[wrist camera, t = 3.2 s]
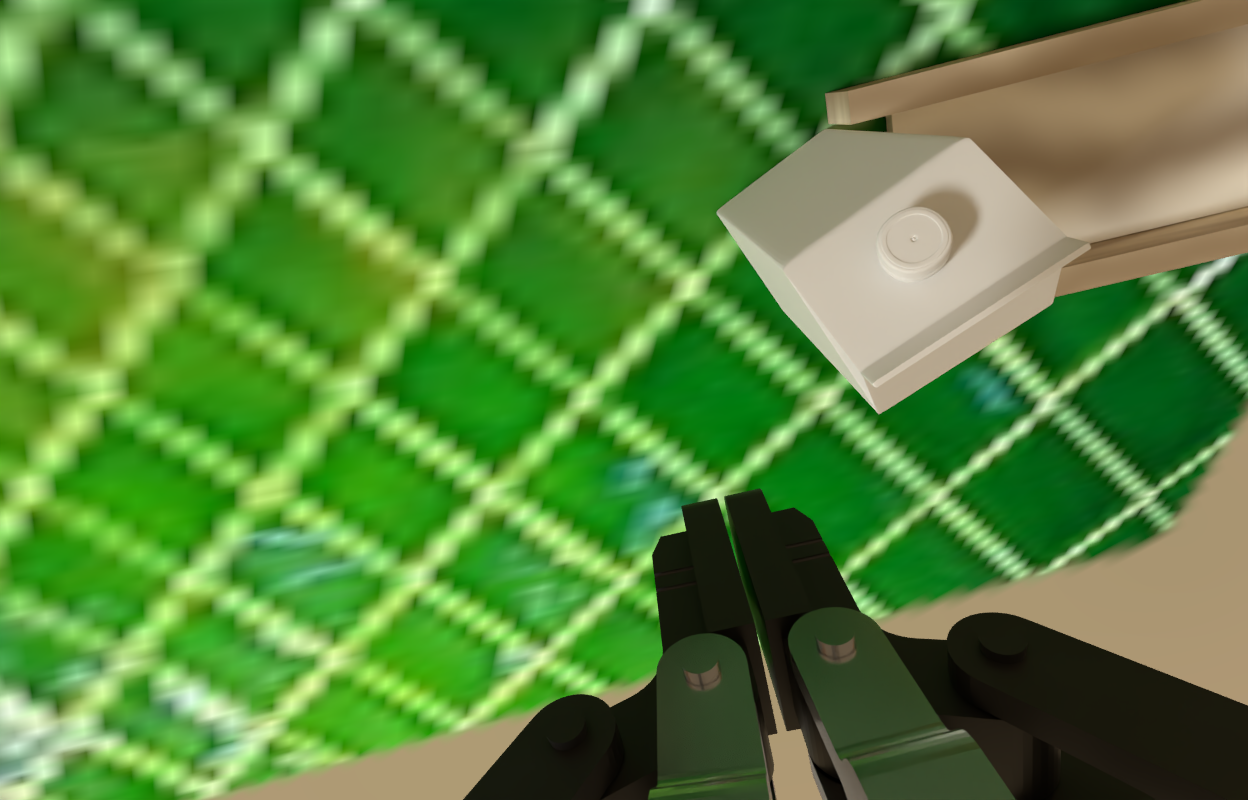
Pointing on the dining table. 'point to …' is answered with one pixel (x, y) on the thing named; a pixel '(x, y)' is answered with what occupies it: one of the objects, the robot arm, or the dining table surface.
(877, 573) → the dining table surface
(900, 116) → the u rest
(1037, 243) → the milk carton
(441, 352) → the dining table surface
